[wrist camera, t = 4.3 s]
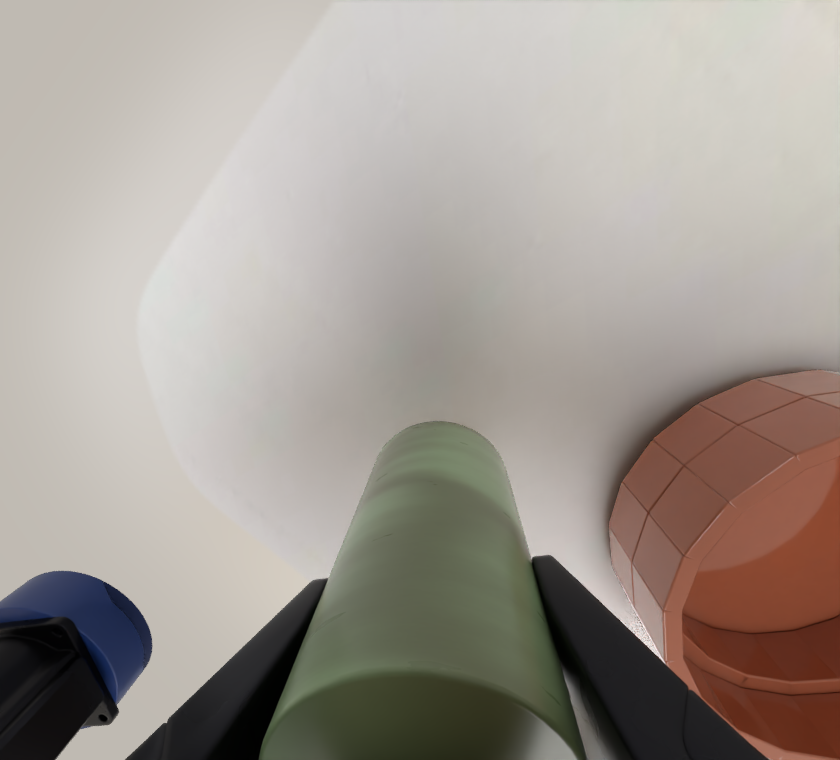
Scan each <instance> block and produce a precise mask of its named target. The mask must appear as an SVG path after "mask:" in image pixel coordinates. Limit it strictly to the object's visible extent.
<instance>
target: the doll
mask: <svg viewBox="0 0 840 760" xmlns="http://www.w3.org/2000/svg"><path fill="white" fill-rule="evenodd" d="M259 760H588V759H587V756H586V752H585V749H584V745H583V741H582V738H581V734H580V731H579V727H578V724H577V720H576V717H575V713H574V709H573V706H572V702H571V699H570V695H569V692H568V688H567V684H566V681H565V677H564V674H563V670H562V667H561V663H560V660H559V656H558V652H557V649H556V645H555V642H554V638H553V635H552V631H551V628H550V625H549V621H548V618H547V615H546V611H545V608H544V604H543V601H542V597H541V593H540V590H539V586H538V583H537V579H536V576H535V572H534V569H533V565H532V560H531V556H530V553H529V549H528V545H527V542H526V538H525V535H524V531H523V528H522V524H521V521H520V517H519V513H518V510H517V506H516V503H515V499H514V496H513V492H512V488H511V485H510V481H509V478H508V474H507V471H506V467H505V465H504V462H503V460H502V458H501V456H500V454H499V453H498V451H497V450H496V449H495V447H494V446H493V445H492V444H491V443H490V442H489V441H488V440H487V439H486V438H485V437H483V436H482V435H481V434H479V433H478V432H476V431H474V430H472V429H470V428H468V427H466V426H463V425H460V424H456V423H451V422H443V421H433V422H425V423H420V424H416V425H414V426H411V427H408V428H406V429H404V430H403V431H401V432H399V433H398V434H396V435H395V436H394V437H393V438H392V439H390V440H389V441H388V442H387V443H386V445H385V446H384V447H383V448H382V450H381V452H380V453H379V455H378V457H377V460H376V462H375V464H374V467H373V469H372V472H371V474H370V477H369V479H368V482H367V484H366V487H365V489H364V492H363V494H362V497H361V499H360V501H359V504H358V506H357V509H356V511H355V514H354V516H353V519H352V521H351V524H350V526H349V529H348V531H347V534H346V536H345V539H344V541H343V544H342V546H341V549H340V551H339V553H338V556H337V558H336V561H335V563H334V566H333V568H332V571H331V573H330V576H329V578H328V581H327V583H326V586H325V588H324V591H323V593H322V596H321V598H320V601H319V603H318V606H317V608H316V610H315V613H314V615H313V618H312V620H311V623H310V625H309V628H308V630H307V633H306V635H305V638H304V640H303V643H302V645H301V648H300V650H299V653H298V655H297V658H296V660H295V662H294V665H293V667H292V670H291V672H290V675H289V677H288V680H287V682H286V685H285V687H284V690H283V692H282V695H281V697H280V700H279V702H278V705H277V707H276V710H275V712H274V714H273V717H272V719H271V722H270V724H269V727H268V729H267V732H266V734H265V737H264V739H263V742H262V746H261V750H260V755H259Z"/></svg>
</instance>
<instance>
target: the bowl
mask: <svg viewBox="0 0 840 760" xmlns="http://www.w3.org/2000/svg"><path fill="white" fill-rule="evenodd" d="M609 536H610V549H611V562H612V567H613V570H614V572H615V574H616V576H617V578H618V580H619V582H620V584H621V586H622V588H623V590H624V592H625V594H626V596H627V598H628V600H629V602H630V604H631V605H632V607H633V609H634V611H635V613H636V615H637V616H638V618H639V620H640V622H641V624H642V626H643V627H644V629H645V631H646V633H647V635H648V637H649V638H650V640H651V642H652V644H653V646H654V648H655V649H656V651H657V653H658V655H659V657H660V658H661V660H662V661H663V662H664V663H665V664H666V665H667V666H668V667H669V668H670V669H671V670H672V671H673V672H674V673H675V674H676V675H677V676H678V677H679V678H681V679H682V680H683V681H684V682H685V683H686V684H687V685H688V687H689V690H693V691H694V692H695V693H696V694H698V695H699V696H700V697H701V698H702V699H703V700H704V701H705V702H706V703H707V704H708V705H709V706H710V707H711V708H712V709H713V710H714V711H715V712H716V713H717V714H719V715H720V716H721V717H722V718H723V719H724V720H725V721H726V722H727V723H728V724H729V725H731V726H732V727H733V728H734V729H735V730H736V731H737V732H738V733H739V734H740V735H741V736H743V737H744V738H745V739H746V740H747V741H748V742H749V743H750V744H751V745H753V746H754V747H755V748H756V749H757V750H758V751H760V752H761V753H762V754H763V755H764V756H765V757H767V758H768V759H771V760H840V372H834V371H826V370H809V371H802V372H796V373H789V374H782V375H776V376H769V377H762V378H756V379H752V380H750V381H747V382H745V383H743V384H741V385H738V386H736V387H734V388H731V389H729V390H727V391H724V392H722V393H720V394H717V395H715V396H713V397H710V398H708V399H706V400H703V401H701V402H699V403H698V404H696V405H695V406H693V407H692V408H691V409H690V410H688V411H687V412H686V413H685V414H683V415H682V416H681V417H680V418H678V419H677V420H676V421H674V422H673V423H672V424H671V425H669V426H668V427H667V428H666V429H664V430H663V431H662V432H660V433H659V434H658V435H657V436H655V437H654V438H653V440H651V441H650V443H649V444H648V446H647V447H646V448H645V450H644V451H643V453H642V454H641V455H640V457H639V458H638V460H637V461H636V462H635V464H634V465H633V467H632V468H631V469H630V471H629V472H628V474H627V475H626V476H625V478H624V479H623V481H622V482H621V485H620V489H619V492H618V495H617V498H616V502H615V505H614V508H613V512H612V515H611V518H610V521H609Z"/></svg>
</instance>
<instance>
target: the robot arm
mask: <svg viewBox="0 0 840 760" xmlns="http://www.w3.org/2000/svg"><path fill="white" fill-rule="evenodd" d="M532 565H533V569H534V572H535V576H536V579H537V583H538V586H539V590H540V593H541V597H542V601H543V604H544V608H545V611H546V615H547V618H548V621H549V625H550V628H551V631H552V635H553V638H554V642H555V645H556V649H557V652H558V656H559V660H560V663H561V667H562V670H563V674H564V677H565V681H566V684H567V688H568V692H569V695H570V699H571V702H572V706H573V709H574V713H575V717H576V720H577V724H578V727H579V731H580V734H581V738H582V741H583V745H584V749H585V752H586V756H587V759H588V760H769V759H768V758H767V757H765V756H764V755H763V754H762V753H761V752H760V751H758V750H757V749H756V748H755V747H754V746H753V745H751V744H750V743H749V742H748V741H747V740H746V739H745V738H744V737H743V736H741V735H740V734H739V733H738V732H737V731H736V730H735V729H734V728H733V727H732V726H731V725H729V724H728V723H727V722H726V721H725V720H724V719H723V718H722V717H721V716H720V715H719V714H717V713H716V712H715V711H714V710H713V709H712V708H711V707H710V706H709V705H708V704H707V703H706V702H705V701H704V700H703V699H702V698H701V697H700V696H699V695H698V694H696V693H695V692H694V691H693V690H689V687H688V685H687V684H686V683H685V682H684V681H683V680H682V679H681V678H679V677H678V676H677V675H676V674H675V673H674V672H673V671H672V670H671V669H670V668H669V667H668V666H667V665H666V664H665V663H664V662H663V661H662V660H661V659H660V658H659V657H657V656H656V655H655V654H654V653H653V652H652V651H651V650H650V649H649V648H648V647H647V646H646V645H645V644H644V643H643V642H642V641H641V640H640V639H639V638H638V637H636V636H635V635H634V634H633V633H632V632H631V631H630V630H629V629H628V628H627V627H626V626H625V625H624V624H623V623H622V622H621V621H620V620H619V619H618V618H617V617H616V616H614V615H613V614H612V613H611V612H610V611H609V610H608V609H607V608H606V607H605V606H604V605H603V604H602V603H601V602H600V601H599V600H598V599H597V598H596V597H595V596H594V595H592V594H591V593H590V592H589V591H588V590H587V589H586V588H585V587H584V586H583V585H582V584H581V583H580V582H579V581H578V580H577V579H576V578H575V577H574V576H573V575H572V574H570V573H569V572H568V571H567V570H566V569H565V568H564V567H563V566H562V565H561V564H560V563H559V562H558V561H557V560H556V559H555V558H554V557H553V556H551V555H544V556H535V557H533V558H532ZM327 581H328V578H326V579H317V580H313V581H312V582H310V583H309V584H308V585H307V586H306V587H305V588H304V589H303V590H302V591H301V592H300V593H299V594H298V595H297V596H296V597H295V598H294V599H293V600H291V602H290V603H288V604H287V605H286V606H285V607H284V608H283V609H282V610H281V611H280V612H279V613H278V614H277V615H276V616H275V617H274V618H273V619H272V620H271V621H270V622H269V623H268V624H267V625H266V626H264V627H263V628H262V629H261V630H260V631H259V632H258V633H257V634H256V635H255V636H254V637H253V638H252V639H251V640H250V641H249V642H248V643H247V644H246V645H245V646H244V647H243V648H242V649H241V650H239V652H238V653H236V654H235V655H234V656H233V657H232V658H231V659H230V660H229V661H228V662H227V663H226V664H225V665H224V666H223V667H222V668H221V669H220V670H219V671H218V672H217V673H215V675H213V676H212V678H210V680H208V681H207V682H206V683H205V684H204V685H203V686H202V687H201V688H200V689H199V690H198V691H197V692H196V693H195V694H194V695H193V696H192V697H191V698H189V700H187V701H186V702H185V703H184V704H183V705H182V706H181V707H180V708H179V709H178V710H177V711H176V712H175V713H174V714H173V715H172V716H171V717H170V718H169V719H168V721H167V723H163V724H162V725H161V726H160V727H159V728H158V729H157V730H156V731H155V732H154V733H153V734H152V735H151V736H150V737H149V738H148V739H147V740H146V741H145V742H143V744H141V745H140V746H139V747H138V748H137V749H136V750H135V751H134V752H133V753H132V754H131V755H130V756H128V757H127V758H126V759H125V760H259V755H260V750H261V746H262V742H263V739H264V737H265V734H266V732H267V729H268V727H269V724H270V722H271V719H272V717H273V714H274V712H275V710H276V707H277V705H278V702H279V700H280V697H281V695H282V692H283V690H284V687H285V685H286V682H287V680H288V677H289V675H290V672H291V670H292V667H293V665H294V662H295V660H296V658H297V655H298V653H299V650H300V648H301V645H302V643H303V640H304V638H305V635H306V633H307V630H308V628H309V625H310V623H311V620H312V618H313V615H314V613H315V610H316V608H317V606H318V603H319V601H320V598H321V596H322V593H323V591H324V588H325V586H326V583H327ZM118 713H119V710H118V708H117V706H116V704H115V702H114V700H113V698H112V696H111V694H110V692H109V690H108V688H107V686H106V684H105V682H104V680H103V678H102V676H101V674H100V672H99V670H98V669H97V667H96V665H95V663H94V661H93V659H92V657H91V655H90V653H89V651H88V649H87V647H86V645H85V643H84V641H83V639H82V637H81V635H80V633H79V632H78V630H77V628H76V626H75V624H74V622H73V621H72V620H71V619H69V618H67V617H51V618H42V619H32V620H22V621H12V622H3V623H0V760H55V759H57V757H58V756H59V755H60V754H61V752H62V751H63V750H64V749H65V747H66V746H67V745H68V744H69V742H70V741H71V740H72V739H73V737H74V736H75V735H76V733H77V732H78V731H79V730H80V729H81V728H82V727H86V726H102V725H109V724H111V723H112V722H113V720H114V719H115V718H116V716H117V715H118Z"/></svg>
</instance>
